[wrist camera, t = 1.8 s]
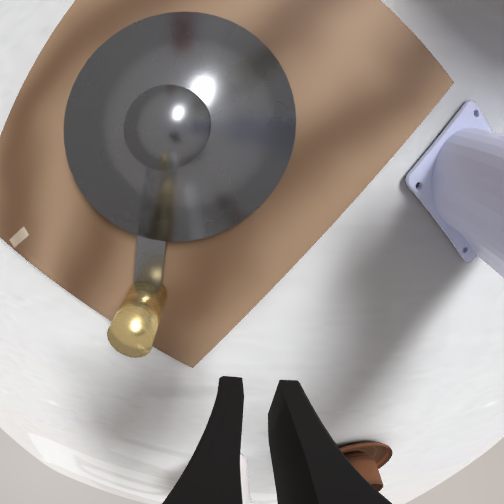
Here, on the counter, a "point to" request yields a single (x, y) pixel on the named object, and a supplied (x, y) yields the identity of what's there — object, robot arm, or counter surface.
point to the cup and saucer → (368, 460)
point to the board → (276, 205)
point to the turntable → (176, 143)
